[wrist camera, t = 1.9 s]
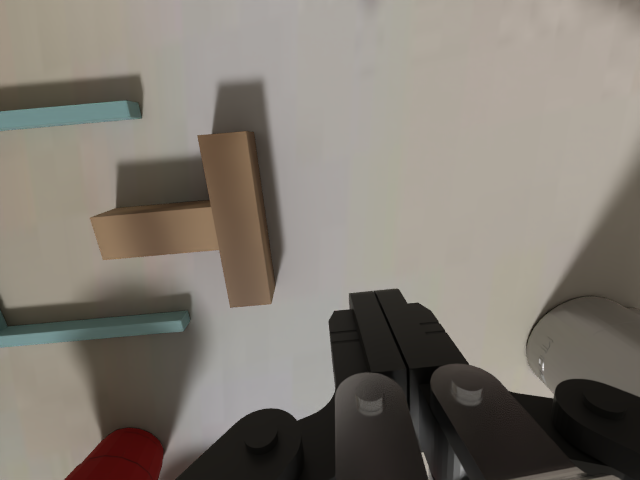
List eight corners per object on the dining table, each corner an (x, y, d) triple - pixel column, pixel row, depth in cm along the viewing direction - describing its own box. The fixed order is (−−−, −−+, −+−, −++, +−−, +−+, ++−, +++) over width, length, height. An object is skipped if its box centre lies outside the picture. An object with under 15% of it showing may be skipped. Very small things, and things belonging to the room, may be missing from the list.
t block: (253, 131, 23) (245, 131, 20) (275, 285, 26) (271, 304, 24) (98, 145, 23) (67, 146, 20) (141, 297, 26) (121, 317, 24)
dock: (138, 102, 22) (126, 100, 20) (190, 321, 27) (183, 331, 26) (-98, 123, 22) (-126, 122, 20) (0, 337, 27) (-17, 348, 26)
